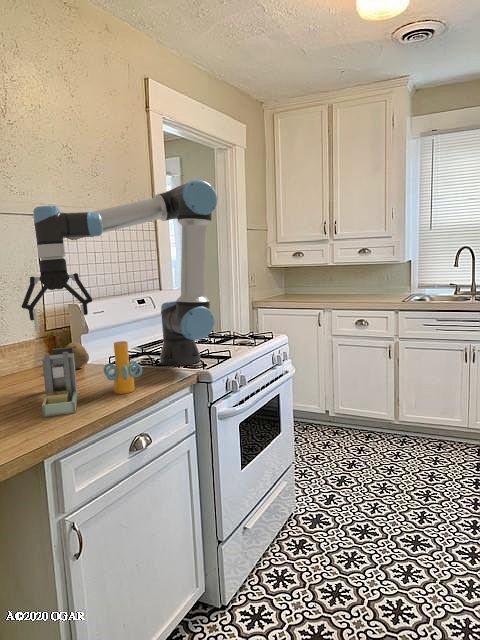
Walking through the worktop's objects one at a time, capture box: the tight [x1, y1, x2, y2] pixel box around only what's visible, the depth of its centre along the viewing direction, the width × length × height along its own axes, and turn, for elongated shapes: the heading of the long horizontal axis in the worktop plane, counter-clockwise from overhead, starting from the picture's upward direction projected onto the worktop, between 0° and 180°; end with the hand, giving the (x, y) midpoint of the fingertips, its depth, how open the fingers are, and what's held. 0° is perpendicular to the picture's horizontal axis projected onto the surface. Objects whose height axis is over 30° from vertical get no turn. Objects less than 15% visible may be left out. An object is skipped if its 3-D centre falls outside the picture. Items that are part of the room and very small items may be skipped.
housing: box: [42, 352, 79, 402], centre depth 139 cm, size 8×9×15 cm
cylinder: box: [103, 340, 143, 395], centre depth 147 cm, size 12×10×15 cm
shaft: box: [51, 347, 73, 378], centre depth 146 cm, size 6×22×6 cm, turn 16°
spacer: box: [47, 390, 70, 404], centre depth 133 cm, size 5×4×4 cm
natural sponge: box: [64, 341, 90, 370], centre depth 183 cm, size 9×9×10 cm
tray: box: [41, 392, 78, 418], centre depth 133 cm, size 8×11×3 cm
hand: (61, 328), depth 151 cm, fingers open, 13 cm apart
